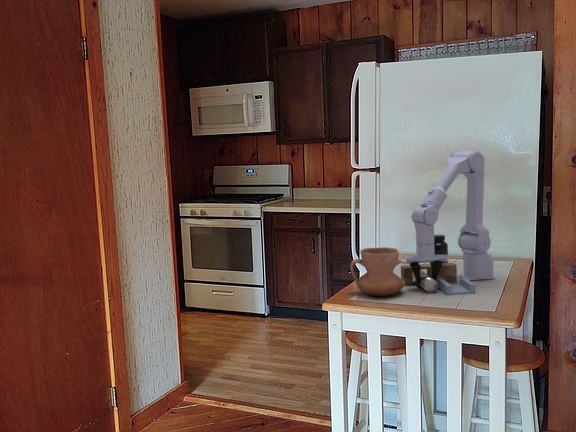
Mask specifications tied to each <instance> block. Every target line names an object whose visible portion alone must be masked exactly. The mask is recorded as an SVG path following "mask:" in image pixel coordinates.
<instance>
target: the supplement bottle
mask: <svg viewBox="0 0 576 432" xmlns="http://www.w3.org/2000/svg"><path fill="white" fill-rule="evenodd" d="M445 237H446V236H445V234H434V254H435V255H448V256H449V244H448V243H447V242H446V238H445ZM441 263H449V261H448V262H445V261H442V262H441ZM429 264H431V263H430V262H429Z"/></svg>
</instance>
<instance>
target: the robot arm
mask: <svg viewBox="0 0 576 432" xmlns="http://www.w3.org/2000/svg"><path fill="white" fill-rule="evenodd" d="M459 175H463V176H464V177H465V178H466V179H467V180H466V212H465V213H466V214H465V224H464V225H463V226H462V227H461V228H460V229H459V236H458V238H457V243H458V246H459V248H460V249H461V252H462V253H463V255H462V256H463V258H462V259H463V263H462V264H463V273H459V274H458V275H459V276H460V277H461V278H466V279H468V280H469V281H477V280H479V281H480V280H494V279H495V276H494V257H493V254H492V252H491V251H489V250H490V248H491V244H492V243H491V241H492V240H491V237H490V231H489V229H488V228H487V227H486V226H485V225H484V223H483V222H484V221H483V218H484V197H485V196H484V193H485V192H484V191H485V156H484V155H483V153H481V152H480V151H479V150H467V151H466V150H464V151H463V150H462V151H461V150H460V151H459V150H455V151H452V152H451V153H450V156H449V157H448V159H447V166H446V168H445V170H444V172H443V174H442V176H441V177H440V179H439V182H438V183H437V185H436V186H433V187H431V188H430V189H428V191H427V194H426V196H425V197H424V198H423V200H422V202H421V204H419V205H420V206H419V205H418V206H416V207H415V209H414V210H413V211H412V214H411V220H412V222H413V223H414V229H415V243H416V246H415V247H416V248H415V249H416V252H415V253H416V255H411V256H403V257H402V259H405V260H406V263H405V264H404V265H410V266H411V268H412V270H413V273H414V275H415V278H416V282H415V283H416V285H417V286H420V283H421V282H420V269H421V266H419V265H420V264H421V263H422V264H423V263H424V264H427V263H429V264H430V263H431V272H432V275H431V278H433V279H434V280H435V281H436V279H437V276H438V273H439V271H440V269H441V267H442V263H441V262H442V261H445V262H448V263H449V254H448V255H435V254H434V235H435V224H436V222H437V221H438V219H439V213H440V209H441V207H442V206H443V204H444V202H445V201H446V199H447V198H448V195H447V191H448V190H449V188H450V187H451V186H452V185H453V183H454V182H455V180H457V177H459ZM421 270H422V269H421Z"/></svg>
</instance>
